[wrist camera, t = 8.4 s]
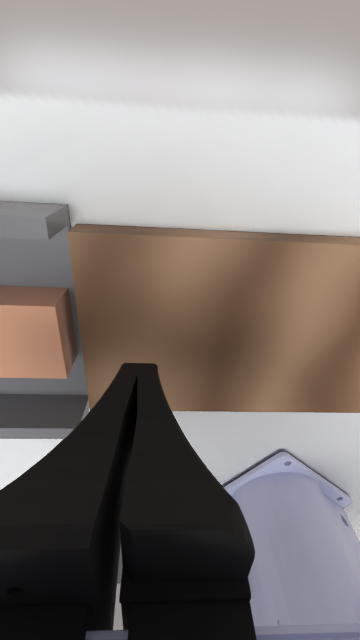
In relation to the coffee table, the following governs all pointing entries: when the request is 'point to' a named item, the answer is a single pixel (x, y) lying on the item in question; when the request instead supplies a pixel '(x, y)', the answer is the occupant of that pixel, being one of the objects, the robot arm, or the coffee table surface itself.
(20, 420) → the tray
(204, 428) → the coffee table surface
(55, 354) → the terracotta tile
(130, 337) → the brown wooden board
